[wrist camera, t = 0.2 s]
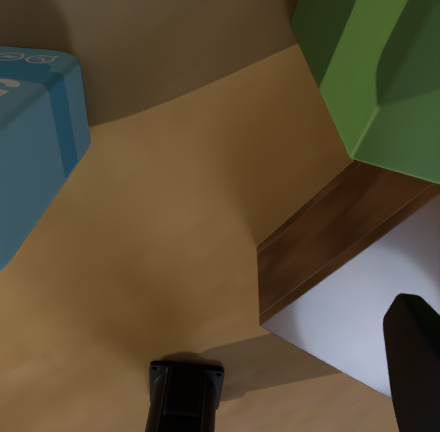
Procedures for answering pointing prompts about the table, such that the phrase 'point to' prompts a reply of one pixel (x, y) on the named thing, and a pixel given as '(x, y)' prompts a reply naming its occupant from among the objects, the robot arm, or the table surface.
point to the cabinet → (351, 267)
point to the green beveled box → (378, 77)
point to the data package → (36, 136)
